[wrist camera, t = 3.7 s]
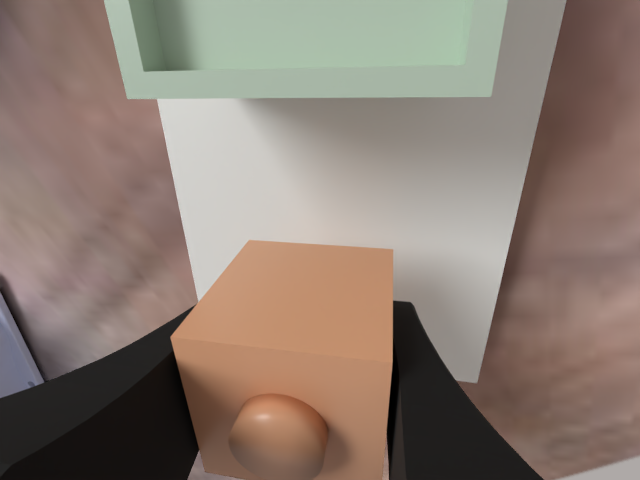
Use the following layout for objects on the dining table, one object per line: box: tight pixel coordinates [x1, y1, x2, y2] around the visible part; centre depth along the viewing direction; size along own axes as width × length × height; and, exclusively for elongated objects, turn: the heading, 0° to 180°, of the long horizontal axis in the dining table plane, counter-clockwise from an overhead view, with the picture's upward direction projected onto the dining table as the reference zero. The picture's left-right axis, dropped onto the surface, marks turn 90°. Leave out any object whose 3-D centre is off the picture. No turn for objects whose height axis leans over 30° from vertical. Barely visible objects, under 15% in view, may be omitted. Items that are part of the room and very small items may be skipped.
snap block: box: [170, 240, 393, 480], centre depth 10 cm, size 4×4×5 cm
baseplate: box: [104, 0, 566, 383], centre depth 10 cm, size 20×12×6 cm, turn 2°
